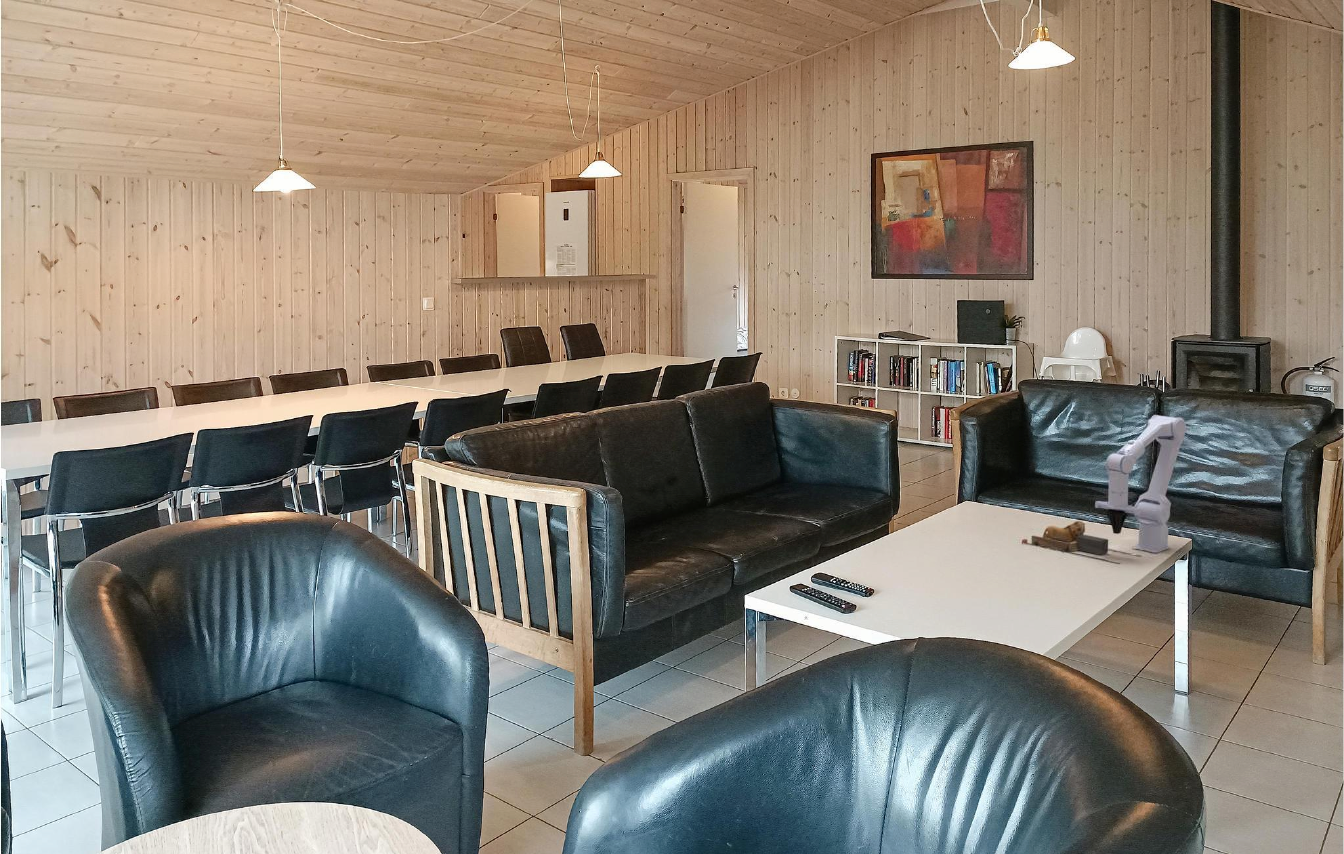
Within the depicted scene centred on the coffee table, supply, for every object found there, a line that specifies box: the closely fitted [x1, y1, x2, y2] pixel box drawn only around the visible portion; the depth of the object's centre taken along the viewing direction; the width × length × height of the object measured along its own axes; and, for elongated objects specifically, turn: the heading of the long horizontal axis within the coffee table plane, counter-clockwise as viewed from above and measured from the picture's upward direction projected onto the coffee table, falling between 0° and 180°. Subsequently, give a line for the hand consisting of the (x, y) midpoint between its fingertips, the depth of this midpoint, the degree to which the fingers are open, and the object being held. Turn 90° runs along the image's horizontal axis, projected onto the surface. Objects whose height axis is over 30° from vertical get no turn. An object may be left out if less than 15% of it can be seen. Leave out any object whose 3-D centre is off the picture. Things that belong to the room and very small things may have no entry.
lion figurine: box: [1042, 520, 1086, 543], centre depth 353 cm, size 15×5×9 cm, turn 71°
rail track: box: [1021, 532, 1142, 565], centre depth 349 cm, size 14×35×1 cm, turn 37°
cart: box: [1031, 533, 1109, 555], centre depth 351 cm, size 13×23×4 cm, turn 37°
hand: (1116, 533), depth 338 cm, fingers closed
